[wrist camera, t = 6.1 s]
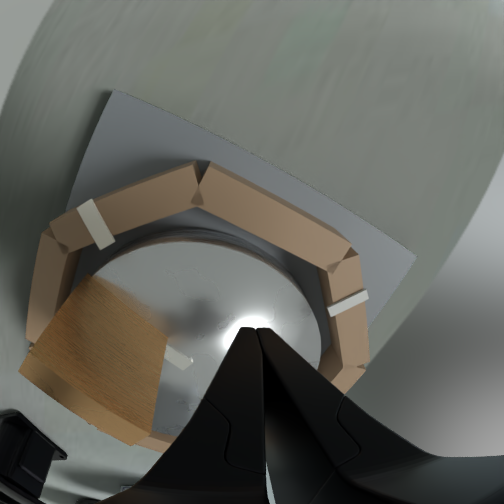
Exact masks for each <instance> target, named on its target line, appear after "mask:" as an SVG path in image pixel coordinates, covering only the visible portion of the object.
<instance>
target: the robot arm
mask: <svg viewBox="0 0 504 504" xmlns="http://www.w3.org/2000/svg"><path fill="white" fill-rule="evenodd" d="M67 456H68V455H67V454H66V453H65V452H63V451H62V450H61V449H60V448H58V447H57V446H56V445H55V444H54V443H52V442H51V441H50V440H49V439H48V438H47V437H45V436H44V435H43V434H42V433H41V432H40V431H39V430H38V429H36V428H35V427H34V426H33V425H32V424H31V423H30V422H29V421H28V420H27V419H26V418H25V417H24V416H23V415H21V414H20V413H12V414H7V415H2V416H0V504H46V503H44V502H42V501H40V500H39V499H38V498H40V495H41V492H42V488H43V485H44V483H45V481H46V478H47V474H48V471H49V468H50V465H51V462H52V460H66V459H67ZM266 463H267V467H268V472H269V476H270V480H271V485H272V490H273V494H274V498H275V503H276V504H504V455H501V456H487V457H441V456H436V455H432V454H430V453H427V452H425V451H424V450H422V449H420V448H418V447H417V446H415V445H413V444H411V443H410V442H409V441H407V440H406V439H404V438H403V437H401V436H400V435H398V434H396V433H395V432H393V431H392V430H390V429H389V428H387V427H386V426H384V425H383V424H382V423H380V422H379V421H377V420H376V419H375V418H373V417H372V416H370V415H369V414H368V413H366V412H365V411H364V410H363V409H361V408H360V407H359V406H358V405H357V404H355V403H354V402H353V401H352V400H350V399H349V398H348V397H347V396H344V393H342V392H341V391H340V390H339V389H338V388H337V387H336V386H334V385H333V384H332V383H331V382H330V381H329V380H328V379H326V378H325V377H324V376H323V375H322V374H321V373H320V372H319V371H317V370H316V369H315V368H314V367H313V366H312V365H311V364H310V363H308V362H307V361H306V360H305V359H304V358H303V357H302V356H301V355H300V354H298V353H297V352H296V351H295V350H294V349H293V348H292V347H291V346H290V345H289V344H287V343H286V342H285V341H284V340H283V339H282V338H281V337H280V336H279V335H278V334H277V333H276V332H274V331H273V330H272V329H271V328H269V327H257V328H256V329H255V328H254V327H244V326H242V327H240V328H239V330H238V332H237V334H236V336H235V338H234V340H233V341H232V343H231V345H230V347H229V349H228V351H227V353H226V355H225V357H224V359H223V360H222V362H221V364H220V366H219V368H218V370H217V372H216V374H215V376H214V377H213V379H212V381H211V383H210V385H209V387H208V389H207V390H206V392H205V394H204V396H203V399H201V401H200V403H199V405H198V407H197V409H196V410H195V412H194V414H193V415H192V417H191V418H190V420H189V422H188V423H187V425H186V426H185V427H184V429H183V430H182V431H181V433H180V434H179V435H178V437H177V438H176V439H175V440H174V442H173V443H172V444H171V445H170V446H169V448H168V449H167V450H166V451H165V452H164V454H163V455H162V456H161V457H160V458H159V460H158V461H157V462H156V463H155V464H154V465H153V467H152V468H151V469H150V470H149V471H148V472H147V473H146V475H145V476H144V477H143V478H142V479H140V480H139V481H138V482H137V483H136V484H135V485H133V486H132V487H130V488H128V489H126V490H124V491H122V492H120V493H118V494H116V495H113V496H111V497H109V498H106V499H104V500H102V501H99V502H97V503H95V504H270V503H269V499H268V495H267V487H266Z"/></svg>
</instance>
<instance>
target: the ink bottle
mask: <svg viewBox="0 0 504 504" xmlns="http://www.w3.org/2000/svg"><path fill="white" fill-rule="evenodd" d="M97 502H99V501H96V500H89V499H81V500H78V501H76V503H75V504H95V503H97Z"/></svg>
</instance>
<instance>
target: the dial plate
mask: <svg viewBox="0 0 504 504" xmlns="http://www.w3.org/2000/svg"><path fill="white" fill-rule="evenodd" d="M49 224H50V227H49V228H48V229H46V230H45V231H43V232H42V233H41V238H40V242H39V247H38V251H37V256H36V261H35V267H34V272H33V278H32V285H31V291H30V299H29V306H28V315H27V325H26V338H25V339H27V340H29V341H31V342H32V343H31V345H30V346H29V349H30V350H31V349H32V347H33V346H34V344H35V343H36V341H37V340H38V338H39V337H40V335H41V334H42V333H43V331H44V330H45V328H46V327H47V326H48V324H49V323H50V321H51V320H52V319H53V317H54V316H55V314H56V313H57V312H58V310H59V309H60V308H61V306H62V305H63V304H64V302H65V301H66V300H67V299H68V297H69V296H70V295H71V293H72V292H73V291H74V289H75V288H76V287H77V286H78V284H79V283H80V282H81V281H82V279H83V278H84V277H85V276H86V274H87V273H89V274H90V275H91V276H92V275H93V274H94V272H95V271H96V270H97V269H98V267H99V266H100V265H101V264H102V263H103V262H104V261H105V260H106V259H107V258H108V257H109V256H110V255H111V254H113V253H114V252H115V251H116V250H118V249H119V248H121V247H122V246H124V245H126V244H128V243H130V242H131V241H133V240H135V239H138V238H141V237H143V236H146V235H149V234H153V233H157V232H162V231H166V230H176V229H201V230H209V231H215V232H220V233H224V234H228V235H231V236H234V237H237V238H240V239H242V240H245V241H247V242H249V243H251V244H253V245H256V246H257V247H259V248H261V249H262V250H264V251H265V252H267V253H268V254H270V255H271V256H273V257H274V258H275V259H276V260H277V261H279V262H280V263H281V264H282V265H283V266H284V267H285V268H286V269H287V270H288V271H289V272H290V274H291V275H292V276H293V277H294V278H295V280H296V281H297V283H298V285H299V286H300V288H301V289H302V291H303V293H304V295H305V297H306V299H307V301H308V303H309V305H310V307H311V309H312V312H313V314H314V316H315V318H316V321H317V324H318V328H319V332H320V337H321V355H320V362H319V365H318V369H317V371H319V372H320V373H321V374H322V375H323V376H324V377H325V378H326V379H328V380H329V381H330V382H331V383H332V384H333V385H334V386H336V387H337V388H338V389H339V390H340V391H341V392H342V393H344V394H345V393H346V392H347V391H348V390H349V389H350V388H351V387H352V385H353V384H354V383H355V382H356V381H357V380H358V379H359V378H360V377H361V375H362V374H363V373H364V372H365V371H366V369H365V367H364V365H363V364H365V363H367V362H370V357H369V342H368V329H367V328H368V327H369V326H370V324H371V323H372V322H373V320H374V319H375V318H376V316H377V315H378V314H379V312H380V311H381V309H382V308H383V307H384V305H385V304H386V303H387V301H388V300H389V298H390V297H391V295H392V294H393V293H394V291H395V290H396V288H397V287H398V285H399V284H400V282H401V281H402V279H403V278H404V276H405V275H406V273H407V272H408V270H409V269H410V267H411V266H412V264H413V263H414V261H415V260H416V258H417V256H416V255H415V254H414V253H412V252H411V251H409V250H408V249H407V248H405V247H404V246H402V245H401V244H399V243H398V242H397V241H395V240H394V239H392V238H391V237H389V236H388V235H386V234H385V233H383V232H382V231H380V230H379V229H377V228H376V227H374V226H373V225H371V224H370V223H368V222H367V221H365V220H364V219H362V218H361V217H359V216H357V215H356V214H354V213H353V212H351V211H350V210H348V209H346V208H345V207H343V206H342V205H340V204H338V203H337V202H335V201H334V200H332V199H330V198H329V197H327V196H325V195H324V194H322V193H320V192H319V191H317V190H315V189H314V188H312V187H310V186H309V185H307V184H305V183H304V182H302V181H300V180H298V179H297V178H295V177H293V176H291V175H290V174H288V173H286V172H284V171H283V170H281V169H279V168H277V167H276V166H274V165H272V164H270V163H268V162H266V161H265V160H263V159H261V158H259V157H257V156H255V155H254V154H252V153H250V152H248V151H246V150H244V149H242V148H240V147H239V146H237V145H235V144H233V143H231V142H229V141H227V140H225V139H223V138H221V137H219V136H217V135H215V134H213V133H211V132H209V131H207V130H205V129H203V128H201V127H199V126H197V125H195V124H193V123H191V122H188V121H186V120H184V119H182V118H180V117H178V116H176V115H174V114H171V113H169V112H167V111H165V110H163V109H160V108H158V107H156V106H154V105H151V104H149V103H147V102H144V101H142V100H140V99H138V98H135V97H133V96H130V95H128V94H126V93H123V92H121V91H118V90H115V89H114V90H113V92H112V94H111V96H110V98H109V100H108V102H107V104H106V106H105V109H104V111H103V113H102V115H101V117H100V119H99V122H98V124H97V126H96V128H95V131H94V133H93V135H92V138H91V140H90V142H89V145H88V147H87V150H86V152H85V155H84V157H83V160H82V163H81V165H80V168H79V171H78V173H77V176H76V179H75V182H74V185H73V188H72V191H71V194H70V197H69V200H68V203H67V206H66V210H65V213H64V214H62V215H61V216H59V217H57V218H56V219H54V220H53V221H51V222H50V223H49ZM87 423H88V424H89V425H90V424H91V423H89V422H87ZM97 430H99V431H101V432H104V431H102V430H101V429H99V428H97ZM104 433H106V432H104ZM106 434H107V433H106ZM176 438H177V436H172V435H168V434H163V433H160V432H156V431H153V430H151V434H150V435H149V436H147V437H145V438H144V439H142V440H140V441H139V442H137V443H135V444H136V445H139V446H142V447H145V448H148V449H152V450H155V451H158V452H161V453H164V452H165V451H166V450H167V449H168V448H169V446H170V445H171V444H172V443H173V442H174V440H175V439H176Z"/></svg>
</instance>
